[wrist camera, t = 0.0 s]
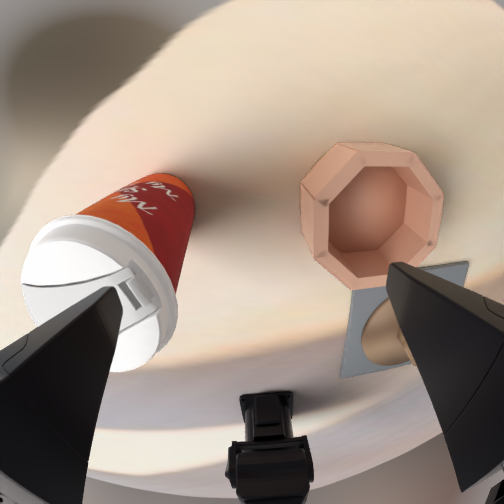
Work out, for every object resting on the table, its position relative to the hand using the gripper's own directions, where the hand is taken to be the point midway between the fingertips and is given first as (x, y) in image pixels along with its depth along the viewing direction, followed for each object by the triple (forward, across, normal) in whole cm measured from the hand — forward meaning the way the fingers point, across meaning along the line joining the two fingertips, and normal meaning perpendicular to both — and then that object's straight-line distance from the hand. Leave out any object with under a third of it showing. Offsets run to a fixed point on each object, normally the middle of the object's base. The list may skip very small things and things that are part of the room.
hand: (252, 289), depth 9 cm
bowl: (+15, -9, +2) cm, 17 cm away
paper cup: (+15, +7, +1) cm, 17 cm away
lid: (+14, -16, +16) cm, 27 cm away
